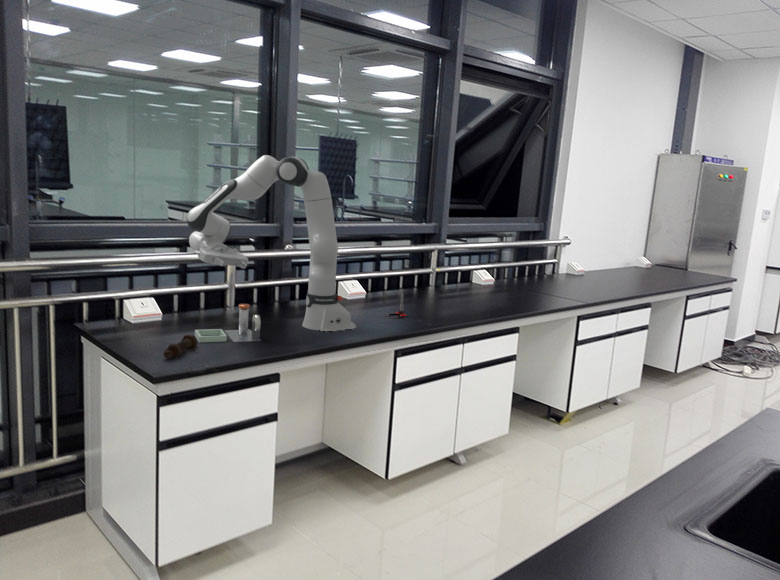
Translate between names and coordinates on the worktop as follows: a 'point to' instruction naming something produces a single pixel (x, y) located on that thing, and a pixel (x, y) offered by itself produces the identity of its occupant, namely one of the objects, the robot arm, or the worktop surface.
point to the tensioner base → (251, 335)
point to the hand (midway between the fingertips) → (234, 265)
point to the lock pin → (243, 318)
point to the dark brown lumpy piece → (181, 346)
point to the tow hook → (401, 306)
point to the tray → (203, 338)
